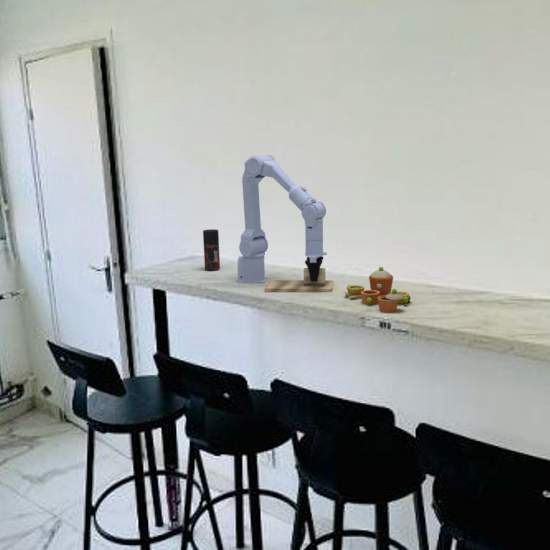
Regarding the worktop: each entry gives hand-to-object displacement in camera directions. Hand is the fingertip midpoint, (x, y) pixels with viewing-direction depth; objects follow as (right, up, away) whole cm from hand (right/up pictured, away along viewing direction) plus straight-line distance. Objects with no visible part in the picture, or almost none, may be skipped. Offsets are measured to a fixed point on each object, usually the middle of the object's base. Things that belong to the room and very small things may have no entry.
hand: (314, 279), depth 200 cm
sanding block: (0, -1, 0) cm, 1 cm away
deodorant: (-38, +4, +36) cm, 52 cm away
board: (-5, -3, +1) cm, 6 cm away
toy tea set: (+19, -7, -19) cm, 28 cm away
